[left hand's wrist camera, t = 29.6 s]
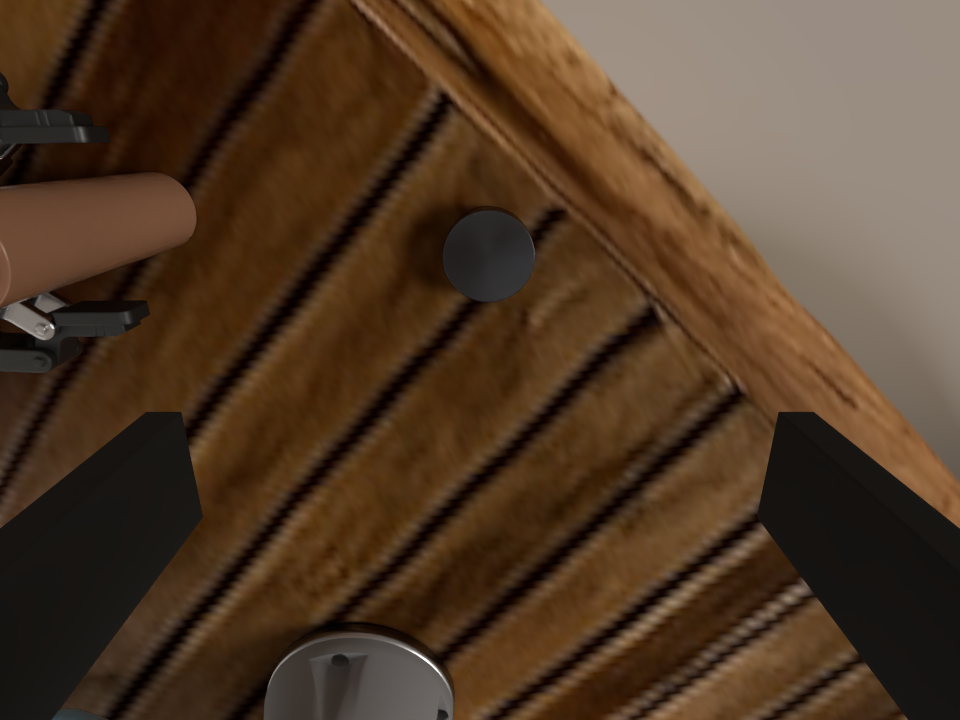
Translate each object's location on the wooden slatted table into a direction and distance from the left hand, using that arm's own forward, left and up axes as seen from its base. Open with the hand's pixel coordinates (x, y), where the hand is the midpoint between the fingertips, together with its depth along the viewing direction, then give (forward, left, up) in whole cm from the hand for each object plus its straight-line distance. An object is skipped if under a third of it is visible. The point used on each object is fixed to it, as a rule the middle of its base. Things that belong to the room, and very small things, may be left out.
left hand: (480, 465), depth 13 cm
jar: (-10, +17, -23) cm, 30 cm away
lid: (+1, 0, -22) cm, 22 cm away
